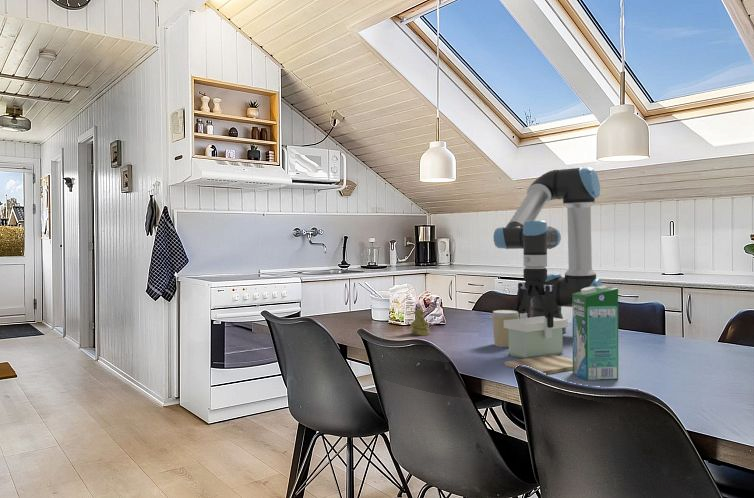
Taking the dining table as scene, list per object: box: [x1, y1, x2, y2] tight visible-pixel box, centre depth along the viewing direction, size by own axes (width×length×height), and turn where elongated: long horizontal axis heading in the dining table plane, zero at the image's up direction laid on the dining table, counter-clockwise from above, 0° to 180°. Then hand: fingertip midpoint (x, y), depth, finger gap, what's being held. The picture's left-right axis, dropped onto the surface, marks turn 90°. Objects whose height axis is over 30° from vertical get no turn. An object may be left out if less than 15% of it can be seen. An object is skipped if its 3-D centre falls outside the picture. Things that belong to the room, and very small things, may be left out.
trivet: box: [504, 355, 573, 375], centre depth 176 cm, size 20×15×1 cm
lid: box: [504, 316, 568, 332], centre depth 192 cm, size 18×10×3 cm, turn 119°
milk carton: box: [571, 284, 619, 381], centre depth 162 cm, size 9×9×25 cm
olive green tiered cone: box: [410, 308, 430, 336], centre depth 235 cm, size 7×7×10 cm
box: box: [508, 328, 564, 359], centre depth 192 cm, size 16×8×9 cm, turn 119°
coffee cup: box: [491, 309, 519, 348], centre depth 209 cm, size 9×9×12 cm
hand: (535, 335), depth 192 cm, fingers closed on lid, 10 cm apart
